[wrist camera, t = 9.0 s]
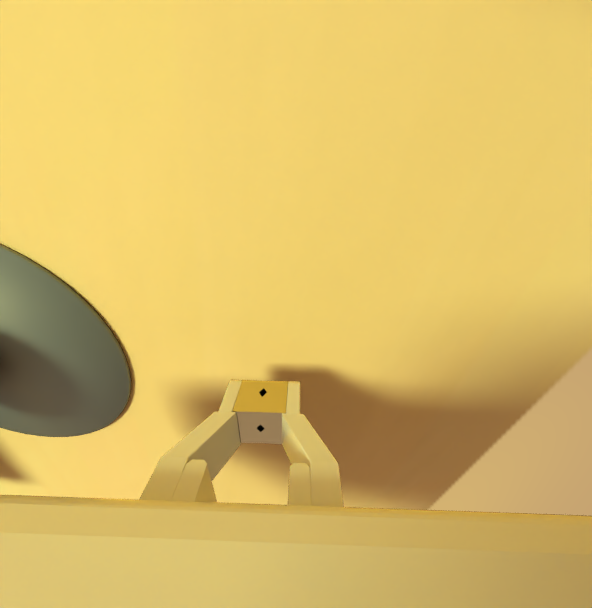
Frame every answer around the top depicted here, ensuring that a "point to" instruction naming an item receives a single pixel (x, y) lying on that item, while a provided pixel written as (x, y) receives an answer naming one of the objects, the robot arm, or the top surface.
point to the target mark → (55, 356)
